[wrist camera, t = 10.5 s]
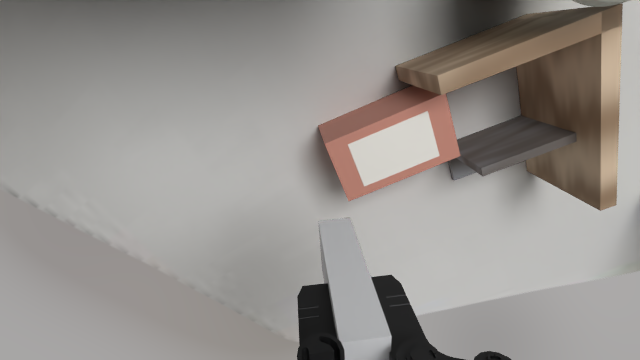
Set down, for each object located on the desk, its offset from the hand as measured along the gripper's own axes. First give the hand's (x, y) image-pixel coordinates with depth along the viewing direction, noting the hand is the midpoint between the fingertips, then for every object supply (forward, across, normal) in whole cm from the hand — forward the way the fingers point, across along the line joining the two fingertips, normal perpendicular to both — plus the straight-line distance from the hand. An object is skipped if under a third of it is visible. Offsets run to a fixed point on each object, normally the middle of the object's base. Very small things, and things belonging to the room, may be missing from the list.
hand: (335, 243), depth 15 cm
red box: (+14, +6, +1) cm, 15 cm away
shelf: (+14, +15, +1) cm, 21 cm away
